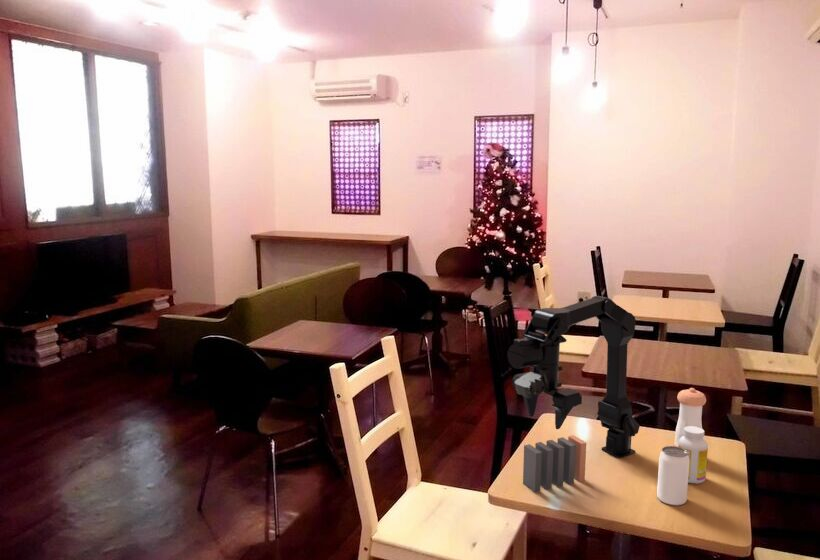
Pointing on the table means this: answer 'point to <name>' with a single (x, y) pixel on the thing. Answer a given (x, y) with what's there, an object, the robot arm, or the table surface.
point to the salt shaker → (689, 411)
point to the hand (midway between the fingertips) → (544, 422)
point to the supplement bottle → (695, 453)
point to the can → (673, 476)
